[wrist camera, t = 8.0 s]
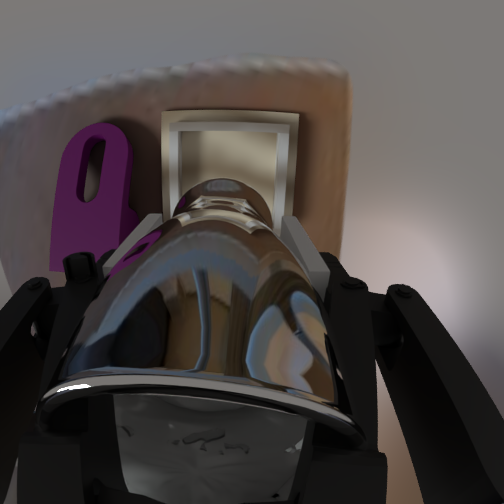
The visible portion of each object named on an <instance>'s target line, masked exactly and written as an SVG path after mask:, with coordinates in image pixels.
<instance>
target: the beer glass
mask: <svg viewBox="0 0 504 504" xmlns="http://www.w3.org/2000/svg"><path fill="white" fill-rule="evenodd" d="M106 395H113V397H114V409H115V420H116V429H117V437H118V445H119V452H120V459H121V465H122V471H123V476H124V481H125V484H126V486H127V488H128V491H129V492H130V493H136V494H141V495H145V496H147V497H150V498H153V499H155V500H158V501H160V502H163V503H166V504H241V503H253V502H273V501H285V500H288V497H289V494H290V491H291V488H292V484H293V480H294V476H295V472H296V468H297V464H298V460H299V456H300V452H301V447H302V443H303V438H304V434H305V429H306V424H307V420H309V421H312V422H315V423H317V424H320V425H322V426H324V427H326V428H328V429H330V430H332V431H333V432H335V433H337V434H338V435H339V436H340V437H342V438H343V439H344V440H345V442H346V443H347V444H348V446H349V448H350V449H365V448H367V447H368V440H367V437H366V434H365V432H364V431H363V429H362V425H361V422H360V418H359V415H358V411H357V407H356V403H355V400H354V395H353V392H352V388H351V384H350V380H349V376H348V372H347V369H346V365H345V362H344V359H343V355H342V352H341V349H340V346H339V342H338V339H337V336H336V333H335V331H334V328H333V326H332V323H331V321H330V318H329V315H328V313H327V310H326V308H325V305H324V303H323V301H322V299H321V297H320V295H319V293H318V291H317V289H316V287H315V285H314V284H313V282H312V280H311V278H310V276H309V274H308V272H307V271H306V269H305V268H304V266H303V265H302V263H301V262H300V261H299V260H298V258H297V257H296V256H295V255H294V253H293V252H292V251H291V250H290V248H289V247H288V246H287V245H286V244H285V242H284V241H283V240H282V239H281V238H280V237H279V236H278V235H276V234H275V233H274V232H273V220H272V215H271V212H270V209H269V207H268V205H267V203H266V201H265V200H264V198H263V197H262V196H261V195H260V193H259V192H258V191H256V190H255V189H254V188H253V187H251V186H250V185H248V184H246V183H244V182H242V181H239V180H236V179H231V178H212V179H208V180H205V181H202V182H200V183H198V184H196V185H195V186H193V187H192V188H190V189H189V190H188V191H187V192H186V193H185V194H184V195H183V196H182V197H181V198H180V200H179V201H178V203H177V205H176V207H175V209H174V212H173V216H172V218H171V219H169V220H167V221H166V222H164V223H162V224H160V225H159V226H157V227H156V228H154V229H153V230H152V231H150V232H149V233H148V234H146V235H145V236H144V237H142V238H141V239H140V240H138V241H137V242H136V243H135V244H134V245H133V246H132V247H130V249H129V250H128V251H127V252H126V253H125V254H124V255H123V256H122V257H121V259H120V260H119V261H118V262H117V263H116V264H115V265H114V267H113V268H112V269H111V270H110V271H109V272H108V274H107V275H106V276H105V278H104V279H103V281H102V282H101V284H100V285H99V287H98V288H97V290H96V291H95V293H94V294H93V296H92V297H91V299H90V300H89V302H88V304H87V305H86V307H85V309H84V310H83V312H82V314H81V316H80V318H79V320H78V322H77V323H76V325H75V327H74V329H73V331H72V333H71V335H70V337H69V339H68V341H67V343H66V345H65V348H64V350H63V352H62V354H61V356H60V359H59V361H58V363H57V366H56V368H55V370H54V372H53V375H52V377H51V379H50V381H49V384H48V386H47V388H46V390H45V392H44V394H43V395H42V397H41V398H40V400H39V402H38V404H37V407H36V413H35V418H36V424H37V427H38V428H39V429H41V430H45V431H50V430H51V429H52V419H53V416H54V415H55V413H56V412H57V411H58V410H59V409H60V408H61V407H63V406H64V405H66V404H68V403H71V402H73V401H76V400H80V399H84V398H89V397H96V396H106Z"/></svg>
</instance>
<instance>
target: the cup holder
mask: <svg viewBox="0 0 504 504" xmlns="http://www.w3.org/2000/svg"><path fill="white" fill-rule="evenodd" d="M298 126H299V114H294V113H282V112H267V111H246V110H183V111H162V136H161V155H162V198H163V220H164V222H166V221H167V220H169V219H171V218H172V216H173V212H174V209H175V207H176V205H177V203H178V201H179V200H180V198H181V197H182V196H183V195H184V194H185V193H186V192H187V191H188V190H189V189H190V188H192V187H193V186H195V185H196V184H198V183H200V182H202V181H205V180H208V179H212V178H231V179H236V180H239V181H242V182H244V183H246V184H248V185H250V186H251V187H253V188H254V189H255V190H256V191H258V192H259V193H260V195H261V196H262V197H263V198H264V200H265V201H266V203H267V205H268V207H269V209H270V212H271V215H272V220H273V232H274V233H275V234H276V235H278V236H279V237H280V232H281V220H282V216H292V211H293V199H294V186H295V173H296V158H297V143H298Z"/></svg>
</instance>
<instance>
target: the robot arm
mask: <svg viewBox="0 0 504 504" xmlns="http://www.w3.org/2000/svg"><path fill="white" fill-rule="evenodd" d="M162 223H163V222H162V214H148V215H147V216H146V217H145V218H144V219H143V221H142V222H141V223H140V224H139V225H138V226H137V227H136V228H135V229H134V230H133V232H132V233H131V234H130V235H129V236H128V237H127V238H126V239H125V241H124V242H123V243H122V244H121V245H120V246H119V247H118V249H111V250H109V251H107V252H105V253H104V254H103V255H102V256H101V257H100V259H98V261H97V262H95V256H94V254H93V253H91V252H77V253H73V254H70V255H68V256H67V257H65V258H64V259H63V260H62V262H63V267H64V271H65V275H66V280H67V281H66V284H65V286H64V287H56V288H51V286H50V283H49V279H47V278H44V277H35V278H31V279H30V280H29V281H27V282H25V283H24V284H23V285H22V286H21V287H20V288H19V289H18V290H17V292H16V293H15V294H14V295H13V296H12V297H11V299H10V300H9V301H8V302H7V303H6V304H5V306H4V307H3V308H2V309H1V310H0V504H166V503H163V502H160V501H158V500H155V499H153V498H150V497H147V496H145V495H141V494H136V493H130V492H129V491H128V488H127V486H126V484H125V481H124V476H123V471H122V465H121V459H120V452H119V445H118V437H117V429H116V420H115V409H114V397H113V395H106V396H96V397H89V398H84V399H80V400H76V401H73V402H71V403H68V404H66V405H64V406H63V407H61V408H60V409H59V410H58V411H57V412H56V413H55V415H54V416H53V419H52V429H51V430H50V431H45V430H41V429H39V428H38V427H37V424H36V418H35V413H36V411H34V410H35V407H36V405H37V404H38V403H37V402H39V400H40V398H41V397H42V395H43V394H44V392H45V390H46V388H47V386H48V384H49V381H50V379H51V377H52V375H53V372H54V370H55V368H56V366H57V363H58V361H59V359H60V356H61V354H62V352H63V350H64V348H65V345H66V343H67V341H68V339H69V337H70V335H71V333H72V331H73V329H74V327H75V325H76V323H77V322H78V320H79V318H80V316H81V314H82V312H83V310H84V309H85V307H86V305H87V304H88V302H89V300H90V299H91V297H92V296H93V294H94V293H95V291H96V290H97V288H98V287H99V285H100V284H101V282H102V281H103V279H104V278H105V276H106V275H107V274H108V272H109V271H110V270H111V269H112V268H113V267H114V265H115V264H116V263H117V262H118V261H119V260H120V259H121V257H122V256H123V255H124V254H125V253H126V252H127V251H128V250H129V249H130V247H132V246H133V245H134V244H135V243H136V242H137V241H138V240H140V239H141V238H142V237H144V236H145V235H146V234H148V233H149V232H150V231H152V230H153V229H154V228H156V227H157V226H159V225H160V224H162ZM280 238H281V239H282V240H283V241H284V242H285V244H286V245H287V246H288V247H289V248H290V250H291V251H292V252H293V253H294V255H295V256H296V257H297V258H298V260H299V261H300V262H301V263H302V265H303V266H304V268H305V269H306V271H307V272H308V274H309V276H310V278H311V280H312V282H313V284H314V285H315V287H316V289H317V291H318V293H319V295H320V297H321V299H322V301H323V303H324V305H325V308H326V310H327V313H328V315H329V318H330V321H331V323H332V326H333V328H334V331H335V333H336V336H337V339H338V342H339V346H340V349H341V352H342V355H343V359H344V362H345V365H346V369H347V372H348V376H349V380H350V384H351V388H352V392H353V395H354V400H355V403H356V407H357V411H358V415H359V418H360V422H361V425H362V429H363V431H364V432H365V434H366V437H367V440H368V447H367V448H365V449H350V448H349V446H348V444H347V443H346V442H345V440H344V439H343V438H342V437H340V436H339V435H338V434H337V433H335V432H333V431H332V430H330V429H328V428H326V427H324V426H322V425H320V424H317V423H315V422H312V421H309V420H307V424H306V429H305V434H304V438H303V443H302V447H301V452H300V456H299V460H298V464H297V468H296V472H295V476H294V480H293V484H292V488H291V491H290V494H289V497H288V500H285V501H273V502H253V503H241V504H386V492H387V467H388V466H387V457H386V455H385V453H381V452H379V451H378V445H377V443H378V442H377V441H378V438H377V437H378V409H377V379H376V362H375V359H376V361H377V364H378V366H379V369H380V371H381V374H382V377H383V379H384V382H385V384H386V387H387V390H388V393H389V395H390V398H391V401H392V403H393V406H394V409H395V412H396V415H397V417H398V420H399V423H400V426H401V429H402V432H403V435H404V438H405V441H406V444H407V447H408V450H409V453H410V457H411V460H412V463H413V466H414V469H415V473H416V476H417V480H418V483H419V487H420V490H421V494H422V498H423V502H424V504H504V420H503V418H502V416H501V414H500V413H499V411H498V409H497V407H496V405H495V404H494V402H493V400H492V399H491V397H490V396H489V394H488V392H487V390H486V389H485V387H484V386H483V384H482V382H481V381H480V379H479V377H478V376H477V374H476V373H475V371H474V370H473V368H472V367H471V365H470V363H469V362H468V360H467V359H466V358H465V356H464V354H463V353H462V352H461V350H460V349H459V347H458V346H457V344H456V343H455V341H454V340H453V339H452V337H451V336H450V334H449V333H448V332H447V330H446V329H445V327H444V326H443V325H442V323H441V322H440V321H439V319H438V318H437V317H436V315H435V314H434V313H433V311H432V310H431V309H430V307H429V306H428V305H427V303H426V302H425V301H424V299H423V298H422V297H421V296H420V294H419V293H418V292H417V291H416V290H415V289H413V288H411V287H410V286H407V285H404V284H394V285H391V286H389V287H388V290H387V293H386V295H384V294H378V293H373V292H368V286H367V284H366V283H365V282H363V281H362V280H360V279H357V278H354V277H350V276H349V275H348V273H347V272H346V270H345V269H344V268H343V266H342V265H341V263H340V262H339V261H338V259H337V258H336V257H335V256H333V255H332V254H330V253H329V252H318V251H317V249H316V248H315V246H314V244H313V243H312V241H311V240H310V238H309V237H308V235H307V233H306V232H305V230H304V229H303V227H302V226H301V224H300V223H299V221H298V219H297V218H296V216H282V220H281V232H280ZM32 324H33V327H34V330H35V332H36V333H35V334H34V336H32V335H31V326H32Z"/></svg>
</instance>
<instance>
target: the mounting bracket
mask: <svg viewBox="0 0 504 504" xmlns="http://www.w3.org/2000/svg"><path fill="white" fill-rule="evenodd" d="M100 141H106V147H105V153H104V159H103V165H102V171H101V178H100V185H99V191H98V194H97V196H96V197H95V198H94V199H93V200H92V201H90V202H87V203H86V202H85V200H84V187H85V180H86V174H87V168H88V162H89V156H90V151H91V149H92V147H93V146H94V145H95V144H96V143H98V142H100ZM132 166H133V149H132V146H131V143H130V142H129V140H128V139H127V137H126V136H125V135H124V133H123V132H122V131H121V130H120V129H119V128H118V127H116V126H115V125H112V124H109V123H96V124H92V125H90V126H87V127H85V128H84V129H82V130H81V131H79V132H78V133H77V134H76V135H75V136H74V137H73V138H72V139H71V140H70V142H69V143H68V145H67V146H66V148H65V150H64V152H63V155H62V158H61V163H60V168H59V174H58V180H57V187H56V193H55V201H54V209H53V219H52V230H51V244H50V267H49V271H57V272H65V271H64V267H63V262H62V260H63V259H64V258H65V257H67V256H68V255H70V254H73V253H77V252H91V253H93V254H94V256H95V262H97V261H98V259H100V257H101V256H102V255H103V254H104V253H105V252H107V251H109V250H111V249H118V247H119V246H120V245H121V244H122V243H123V242H124V241H125V239H126V238H127V237H128V236H129V235H130V234H131V233H132V232H133V230H134V229H135V228H136V227H137V226H138V225H139V224H140V222H139V218H138V215H137V213H136V212H135V211H134V210H132V209H130V208H129V205H128V199H129V190H130V181H131V173H132Z"/></svg>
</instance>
